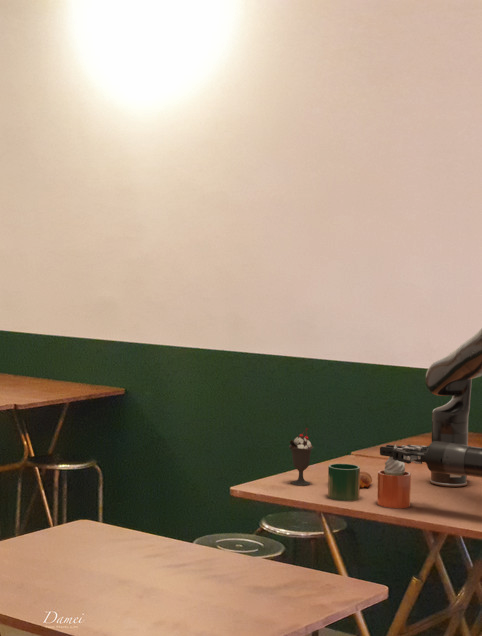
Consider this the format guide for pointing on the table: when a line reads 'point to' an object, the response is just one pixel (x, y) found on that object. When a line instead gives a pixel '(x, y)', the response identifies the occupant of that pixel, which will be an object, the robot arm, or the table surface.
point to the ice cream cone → (394, 467)
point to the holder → (394, 490)
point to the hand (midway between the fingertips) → (383, 449)
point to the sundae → (301, 456)
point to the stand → (343, 482)
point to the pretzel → (365, 479)
